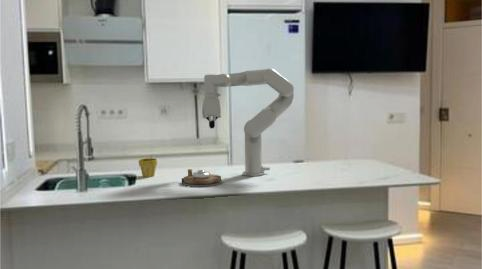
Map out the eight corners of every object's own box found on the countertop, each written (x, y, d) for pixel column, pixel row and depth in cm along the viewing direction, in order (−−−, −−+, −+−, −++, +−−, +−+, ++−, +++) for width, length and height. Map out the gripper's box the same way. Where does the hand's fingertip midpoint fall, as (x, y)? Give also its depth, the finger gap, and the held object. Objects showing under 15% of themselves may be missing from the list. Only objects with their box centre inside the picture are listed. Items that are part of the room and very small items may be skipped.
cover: (200, 175, 266) (200, 168, 266) (213, 177, 261) (213, 170, 260) (189, 178, 259) (189, 171, 258) (202, 180, 253) (202, 172, 253)
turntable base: (217, 177, 275) (217, 172, 274) (227, 185, 254) (227, 179, 253) (178, 180, 268) (178, 174, 268) (185, 188, 247) (185, 182, 247)
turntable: (201, 175, 275) (200, 166, 274) (228, 179, 263) (228, 169, 262) (175, 181, 259) (175, 172, 259) (203, 186, 247) (203, 175, 246)
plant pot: (153, 178, 277) (153, 160, 276) (136, 177, 279) (135, 160, 278) (160, 174, 287) (159, 158, 286) (143, 174, 290) (143, 157, 289)
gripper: (222, 95, 285) (222, 127, 287) (197, 96, 281) (197, 128, 283) (225, 96, 278) (226, 128, 280) (199, 96, 274) (200, 129, 276)
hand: (212, 128), depth 281 cm, fingers closed
